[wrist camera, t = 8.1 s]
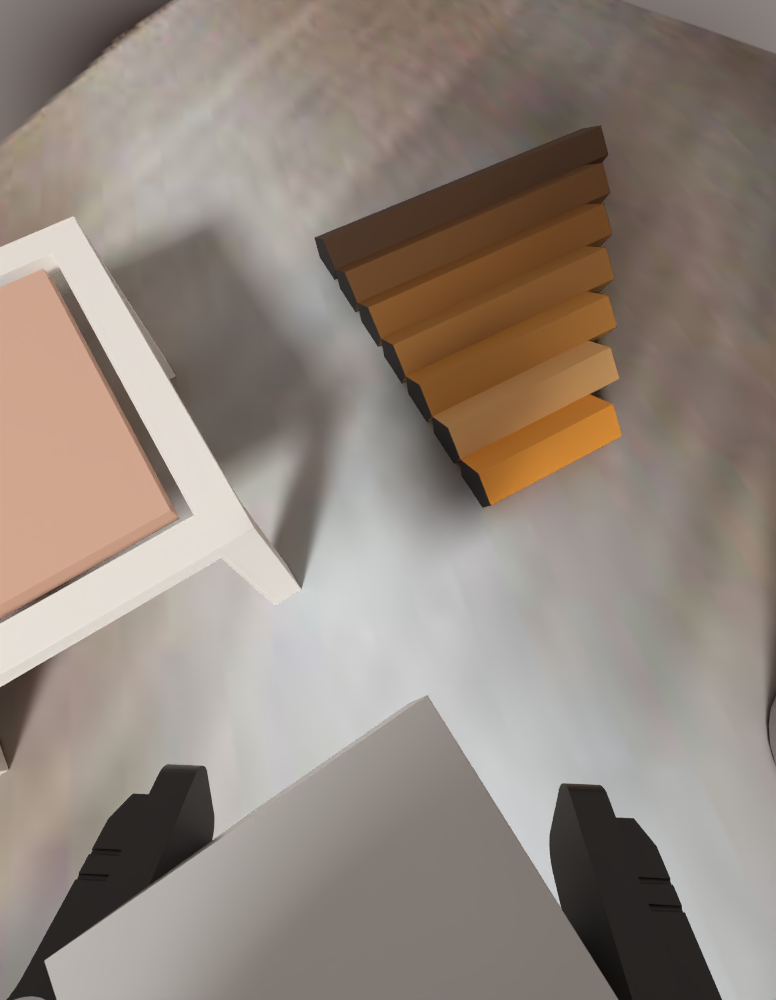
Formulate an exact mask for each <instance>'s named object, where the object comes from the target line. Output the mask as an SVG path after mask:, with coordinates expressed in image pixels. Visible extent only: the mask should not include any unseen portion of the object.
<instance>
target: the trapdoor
mask: <svg viewBox="0 0 776 1000" xmlns="http://www.w3.org/2000/svg"><path fill="white" fill-rule="evenodd" d="M178 519H179V516H178V515H177V513H176V511H175V509H174V507H173V505H172V503H171V501H170V499H169V498H168V496H167V494H166V492H165V490H164V488H163V486H162V484H161V482H160V481H159V479H158V477H157V475H156V473H155V471H154V469H153V467H152V465H151V464H150V462H149V460H148V458H147V456H146V454H145V452H144V450H143V449H142V447H141V445H140V443H139V441H138V439H137V437H136V435H135V433H134V432H133V430H132V428H131V426H130V424H129V422H128V420H127V418H126V416H125V415H124V413H123V411H122V409H121V407H120V405H119V403H118V401H117V399H116V398H115V396H114V394H113V392H112V390H111V388H110V386H109V384H108V382H107V381H106V379H105V377H104V375H103V373H102V371H101V369H100V367H99V365H98V364H97V362H96V360H95V358H94V356H93V354H92V352H91V350H90V348H89V347H88V345H87V343H86V341H85V339H84V337H83V335H82V333H81V331H80V330H79V328H78V326H77V324H76V322H75V320H74V318H73V316H72V315H71V313H70V311H69V309H68V307H67V305H66V303H65V301H64V299H63V298H62V296H61V294H60V292H59V290H58V288H57V286H56V284H55V283H54V282H53V280H52V279H51V278H50V277H49V275H48V274H47V273H46V271H45V270H44V269H41V270H39V271H36V272H34V273H32V274H30V275H27V276H25V277H23V278H20V279H18V280H16V281H13V282H11V283H9V284H6V285H4V286H2V287H0V619H1V618H2V617H4V616H6V615H8V614H10V613H11V612H13V611H15V610H17V609H19V608H20V607H22V606H24V605H26V604H27V603H29V602H31V601H33V600H35V599H36V598H38V597H40V596H42V595H44V594H45V593H47V592H49V591H51V590H52V589H54V588H56V587H58V586H60V585H61V584H63V583H65V582H67V581H69V580H70V579H72V578H74V577H76V576H78V575H79V574H81V573H83V572H85V571H86V570H88V569H90V568H92V567H94V566H95V565H97V564H99V563H101V562H103V561H104V560H106V559H108V558H110V557H111V556H113V555H115V554H117V553H119V552H120V551H122V550H124V549H126V548H128V547H129V546H131V545H133V544H135V543H137V542H138V541H140V540H142V539H144V538H145V537H147V536H149V535H151V534H153V533H154V532H156V531H158V530H160V529H162V528H163V527H165V526H167V525H169V524H170V523H172V522H174V521H176V520H178Z"/></svg>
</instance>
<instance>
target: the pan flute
mask: <svg viewBox="0 0 776 1000" xmlns="http://www.w3.org/2000/svg"><path fill="white" fill-rule="evenodd" d="M607 155H608V151H607V148H606V144H605V140H604V136H603V132H602V128H601V126H595V127H589V128H584V129H580V130H578V131H576V132H573V133H571V134H568V135H566V136H563V137H561V138H558V139H556V140H553V141H551V142H548V143H546V144H544V145H541V146H539V147H536V148H534V149H531V150H529V151H526V152H524V153H521V154H519V155H517V156H514V157H512V158H509V159H507V160H504V161H502V162H499V163H497V164H494V165H492V166H490V167H487V168H485V169H482V170H480V171H477V172H475V173H472V174H470V175H467V176H465V177H463V178H460V179H458V180H455V181H453V182H450V183H448V184H445V185H443V186H440V187H438V188H435V189H433V190H431V191H428V192H426V193H423V194H421V195H418V196H416V197H413V198H411V199H408V200H406V201H404V202H401V203H399V204H396V205H394V206H391V207H389V208H386V209H384V210H381V211H379V212H377V213H374V214H372V215H369V216H367V217H364V218H362V219H359V220H357V221H354V222H352V223H350V224H347V225H345V226H342V227H340V228H337V229H335V230H332V231H330V232H327V233H325V234H322V235H320V236H318V237H315V241H316V245H317V248H318V252H319V256H320V258H321V260H322V261H323V263H324V264H325V266H326V267H327V269H328V270H329V272H330V273H331V275H332V277H333V278H334V280H335V279H338V282H339V286H340V289H341V290H342V292H343V293H344V295H345V297H346V298H347V300H348V301H349V303H350V304H351V306H352V307H353V309H354V310H355V312H358V311H359V312H360V316H361V320H362V323H363V324H364V326H365V327H366V329H367V330H368V332H369V333H370V335H371V337H372V338H373V340H374V341H375V343H376V344H377V346H378V347H379V346H381V345H382V346H383V351H384V356H385V358H386V360H387V361H388V363H389V364H390V366H391V367H392V369H393V370H394V372H395V374H396V375H397V377H398V378H399V380H400V381H401V383H404V382H406V381H407V387H408V393H409V395H410V397H411V398H412V400H413V401H414V403H415V404H416V406H417V407H418V409H419V410H420V412H421V414H422V415H423V417H424V418H425V420H426V421H427V422H429V421H431V420H433V426H434V434H435V435H436V437H437V438H438V440H439V441H440V443H441V444H442V446H443V447H444V449H445V451H446V452H447V454H448V455H449V457H450V458H451V460H452V461H453V463H456V462H458V461H460V460H461V472H462V477H463V478H464V480H465V481H466V483H467V484H468V486H469V487H470V489H471V491H472V492H473V494H474V495H475V497H476V498H477V500H478V501H479V503H480V504H481V506H482V507H487V506H491V505H493V504H495V503H497V502H498V501H500V500H502V499H504V498H506V497H508V496H510V495H512V494H513V493H515V492H517V491H519V490H521V489H523V488H525V487H527V486H529V485H530V484H532V483H534V482H536V481H538V480H540V479H542V478H544V477H545V476H547V475H549V474H551V473H553V472H555V471H557V470H559V469H561V468H562V467H564V466H566V465H568V464H570V463H572V462H574V461H576V460H577V459H579V458H581V457H583V456H585V455H587V454H589V453H591V452H593V451H594V450H596V449H598V448H600V447H602V446H604V445H606V444H608V443H609V442H611V441H613V440H615V439H617V438H619V437H621V436H622V433H621V430H620V426H619V423H618V420H617V416H616V413H615V409H614V406H613V404H612V403H609V402H607V401H604V400H602V399H600V398H597V397H595V396H593V395H590V394H592V393H593V392H595V391H597V390H599V389H601V388H603V387H605V386H607V385H609V384H611V383H613V382H614V381H616V380H618V379H619V375H618V372H617V368H616V365H615V361H614V358H613V354H612V351H611V347H608V346H604V345H601V344H598V343H594V342H592V341H594V340H596V339H598V338H600V337H602V336H604V335H606V334H607V333H608V332H610V331H611V330H613V329H614V328H615V327H617V325H616V322H615V318H614V314H613V311H612V307H611V304H610V300H609V296H608V295H603V294H598V293H595V292H597V291H599V290H601V289H603V288H604V287H605V286H606V285H607V284H609V283H610V282H611V281H612V280H613V279H614V275H613V271H612V268H611V264H610V260H609V256H608V253H607V249H606V248H602V247H599V246H601V245H602V244H603V243H604V242H605V241H606V240H607V239H608V238H609V237H610V236H611V235H612V231H611V227H610V224H609V220H608V216H607V212H606V209H605V205H604V204H601V203H602V202H603V201H604V199H605V198H606V197H607V196H608V195H609V193H610V190H609V186H608V183H607V179H606V175H605V171H604V167H603V163H602V162H603V161H604V159H605V158H606V157H607Z"/></svg>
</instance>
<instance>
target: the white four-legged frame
mask: <svg viewBox="0 0 776 1000" xmlns="http://www.w3.org/2000/svg"><path fill="white" fill-rule="evenodd" d="M41 269H44V270H45V271H46V273H47V274H48V275H51V274H53V273H55V272H57V271H60V270H61V271H62V273H63V275H64V277H65V278H66V280H67V282H68V284H69V286H70V288H71V290H72V291H73V293H74V295H75V297H76V299H77V301H78V302H79V304H80V306H81V308H82V310H83V312H84V314H85V315H86V317H87V319H88V321H89V323H90V325H91V326H92V328H93V330H94V332H95V334H96V336H97V338H98V339H99V341H100V343H101V345H102V347H103V349H104V350H105V352H106V354H107V356H108V358H109V360H110V362H111V363H112V365H113V367H114V369H115V371H116V373H117V375H118V376H119V378H120V380H121V382H122V384H123V386H124V387H125V389H126V391H127V393H128V395H129V397H130V399H131V400H132V402H133V404H134V406H135V408H136V410H137V411H138V413H139V415H140V417H141V419H142V421H143V423H144V424H145V426H146V428H147V430H148V432H149V434H150V435H151V437H152V439H153V441H154V443H155V445H156V447H157V448H158V450H159V452H160V454H161V456H162V458H163V459H164V461H165V463H166V465H167V467H168V469H169V471H170V472H171V474H172V476H173V478H174V480H175V482H176V484H177V485H178V487H179V489H180V491H181V493H182V495H183V496H184V498H185V500H186V502H187V504H188V506H189V508H190V509H191V511H192V513H193V516H191V517H189V518H188V519H186V520H184V521H182V522H181V523H179V524H177V525H175V526H173V527H172V528H170V529H168V530H166V531H164V532H163V533H161V534H159V535H157V536H156V537H154V538H152V539H150V540H148V541H147V542H145V543H143V544H141V545H140V546H138V547H136V548H134V549H132V550H131V551H129V552H127V553H125V554H124V555H122V556H120V557H118V558H116V559H115V560H113V561H111V562H109V563H107V564H106V565H104V566H102V567H100V568H99V569H97V570H95V571H93V572H91V573H90V574H88V575H86V576H84V577H83V578H81V579H79V580H77V581H75V582H74V583H72V584H70V585H68V586H66V587H65V588H63V589H61V590H59V591H58V592H56V593H54V594H52V595H50V596H49V597H47V598H45V599H43V600H42V601H40V602H38V603H36V604H34V605H33V606H31V607H29V608H27V609H25V610H24V611H22V612H20V613H18V614H17V615H15V616H13V617H11V618H9V619H8V620H6V621H4V622H2V623H1V624H0V687H1V686H3V685H5V684H6V683H8V682H10V681H12V680H13V679H15V678H17V677H18V676H20V675H22V674H24V673H25V672H27V671H29V670H30V669H32V668H34V667H36V666H37V665H39V664H41V663H42V662H44V661H46V660H47V659H49V658H51V657H53V656H54V655H56V654H58V653H59V652H61V651H63V650H65V649H66V648H68V647H70V646H71V645H73V644H75V643H77V642H78V641H80V640H82V639H83V638H85V637H87V636H89V635H90V634H92V633H94V632H95V631H97V630H99V629H101V628H102V627H104V626H106V625H107V624H109V623H111V622H113V621H114V620H116V619H118V618H119V617H121V616H123V615H125V614H126V613H128V612H130V611H131V610H133V609H135V608H136V607H138V606H140V605H142V604H143V603H145V602H147V601H148V600H150V599H152V598H154V597H155V596H157V595H159V594H160V593H162V592H164V591H166V590H167V589H169V588H171V587H172V586H174V585H176V584H178V583H179V582H181V581H183V580H184V579H186V578H188V577H190V576H191V575H193V574H195V573H196V572H198V571H200V570H202V569H203V568H205V567H207V566H208V565H210V564H212V563H214V562H215V561H217V560H219V559H220V558H221V559H222V560H224V561H225V562H226V563H227V564H228V565H229V566H230V567H232V568H233V569H234V570H235V571H236V572H237V573H238V574H240V575H241V576H242V577H243V578H244V579H245V580H246V581H248V582H249V583H250V584H251V585H252V586H253V587H254V588H256V589H257V590H258V591H259V592H260V593H261V594H262V595H264V596H265V597H266V598H267V599H268V600H269V601H270V602H272V603H273V604H274V605H275V606H276V605H277V604H279V603H280V602H282V601H284V600H285V599H287V598H289V597H290V596H292V595H293V594H295V593H297V592H298V591H300V590H301V588H300V586H299V585H298V583H297V581H296V580H295V578H294V576H293V574H292V573H291V571H290V569H289V568H288V566H287V564H286V563H285V562H284V560H283V559H282V558H281V556H280V555H279V554H278V552H277V551H276V549H275V548H274V547H273V545H272V544H271V543H270V541H269V540H268V539H267V537H266V536H265V534H264V533H263V532H262V530H261V529H260V528H259V526H258V525H257V524H256V522H255V521H254V520H253V518H252V517H251V515H250V514H249V513H248V511H247V510H246V509H245V507H244V506H243V505H242V503H241V502H240V500H239V498H238V497H237V495H236V493H235V492H234V490H233V488H232V486H231V485H230V483H229V481H228V480H227V478H226V476H225V474H224V473H223V471H222V469H221V467H220V466H219V464H218V462H217V461H216V459H215V457H214V455H213V454H212V452H211V450H210V449H209V447H208V445H207V443H206V442H205V440H204V438H203V437H202V435H201V433H200V431H199V430H198V428H197V426H196V424H195V423H194V421H193V419H192V418H191V416H190V414H189V412H188V411H187V409H186V407H185V406H184V404H183V402H182V400H181V399H180V397H179V395H178V393H177V392H176V390H175V388H174V387H173V385H172V383H171V381H170V379H172V378H174V377H176V375H175V374H174V372H173V370H172V369H171V367H170V365H169V363H168V362H167V360H166V358H165V357H164V355H163V354H162V352H161V351H160V349H159V348H158V346H157V344H156V343H155V341H154V340H153V338H152V337H151V335H150V334H149V332H148V331H147V329H146V327H145V326H144V324H143V323H142V321H141V320H140V318H139V317H138V315H137V314H136V312H135V310H134V309H133V307H132V306H131V304H130V303H129V301H128V300H127V298H126V297H125V295H124V293H123V292H122V290H121V289H120V287H119V286H118V284H117V283H116V281H115V280H114V278H113V277H112V275H111V273H110V272H109V270H108V269H107V267H106V266H105V264H104V263H103V261H102V260H101V258H100V256H99V255H98V253H97V252H96V250H95V249H94V247H93V246H92V244H91V243H90V241H89V239H88V238H87V236H86V235H85V233H84V232H83V230H82V229H81V227H80V226H79V224H78V222H77V221H76V219H75V218H74V216H73V217H71V218H68V219H66V220H63V221H61V222H59V223H56V224H54V225H52V226H49V227H47V228H45V229H42V230H40V231H37V232H35V233H33V234H30V235H28V236H26V237H23V238H21V239H19V240H16V241H14V242H12V243H9V244H7V245H4V246H2V247H0V287H2V286H4V285H6V284H9V283H11V282H13V281H16V280H18V279H20V278H23V277H25V276H27V275H30V274H32V273H34V272H36V271H39V270H41ZM8 770H9V769H8V766H7V763H6V760H5V757H4V754H3V751H2V749H1V746H0V775H1V774H3V773H5V772H6V771H8Z"/></svg>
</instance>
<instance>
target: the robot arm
mask: <svg viewBox="0 0 776 1000" xmlns="http://www.w3.org/2000/svg"><path fill="white" fill-rule="evenodd" d="M769 735H770V746H771V749H772V753H773V756H774V760H775V764H776V696H775V699H774V701H773V704H772V707H771V712H770V720H769ZM213 832H214V811H213V805H212V799H211V793H210V787H209V781H208V775H207V770H206V768H205V766H194V765H171V764H168V765H165V766H164V767H163V768H162V770H161V771H160V773H159V775H158V777H157V779H156V781H155V783H154V785H153V787H152V789H151V791H150V793H149V794H132V795H131V796H130V797H129V798H128V799H127V800H126V801H125V802H124V803H123V804H122V805H121V806H120V807H119V808H118V809H117V810H116V811H115V812H114V813H113V815H112V816H111V817H110V818H109V819H108V820H107V822H106V824H105V826H104V828H103V830H102V831H101V833H100V835H99V837H98V839H97V841H96V843H95V844H94V846H93V848H92V853H91V854H89V855H88V857H87V859H86V861H85V863H84V865H83V866H82V868H81V870H80V872H79V876H78V879H77V880H75V881H74V883H73V885H72V887H71V888H70V890H69V892H68V894H67V896H66V898H65V900H64V901H63V903H62V905H61V907H60V909H59V911H58V912H57V914H56V916H55V918H54V920H53V922H52V923H51V925H50V927H49V929H48V931H47V933H46V934H45V936H44V938H43V940H42V942H41V944H40V945H39V947H38V949H37V951H36V953H35V955H34V956H33V958H32V960H31V962H30V964H29V966H28V968H27V969H26V971H25V973H24V975H23V977H22V978H21V980H20V982H19V983H18V985H17V987H16V988H15V989H14V991H13V992H12V994H11V995H10V996H9V998H8V999H7V1000H57V999H56V996H55V993H54V990H53V987H52V983H51V980H50V977H49V974H48V971H47V968H46V965H45V962H44V961H45V960H46V959H47V958H49V957H50V956H52V955H53V954H54V953H56V952H57V951H59V950H60V949H61V948H63V947H64V946H66V945H67V944H68V943H70V942H71V941H73V940H74V939H75V938H77V937H78V936H79V935H81V934H82V933H84V932H85V931H86V930H88V929H89V928H91V927H92V926H93V925H95V924H96V923H98V922H99V921H100V920H102V919H103V918H105V917H106V916H107V915H109V914H110V913H112V912H113V911H114V910H116V909H117V908H119V907H120V906H121V905H123V904H124V903H126V902H127V901H128V900H130V899H131V898H133V897H134V896H135V895H137V894H138V893H140V892H141V891H142V890H144V889H145V888H147V887H148V886H149V885H151V884H152V883H154V882H155V881H156V880H158V879H159V878H161V877H162V876H163V875H165V874H166V873H168V872H169V871H170V870H172V869H173V868H175V867H176V866H177V865H179V864H180V863H182V862H183V861H184V860H186V859H187V858H189V857H190V856H191V855H193V854H194V853H196V852H197V851H198V850H200V849H201V848H203V847H204V846H205V845H207V844H208V843H210V842H211V841H212V838H213ZM550 858H551V865H552V870H553V875H554V879H555V883H556V887H557V892H558V896H559V900H560V904H561V908H562V911H563V912H564V914H565V915H566V917H567V919H568V920H569V922H570V923H571V925H572V927H573V928H574V930H575V931H576V933H577V935H578V936H579V938H580V939H581V941H582V943H583V944H584V946H585V947H586V949H587V951H588V952H589V954H590V955H591V957H592V959H593V960H594V962H595V963H596V965H597V966H598V968H599V970H600V971H601V973H602V974H603V976H604V978H605V979H606V981H607V982H608V984H609V986H610V987H611V989H612V990H613V992H614V994H615V995H616V997H617V998H618V1000H722V999H721V996H720V994H719V992H718V989H717V987H716V985H715V982H714V980H713V978H712V975H711V973H710V971H709V968H708V966H707V964H706V961H705V959H704V957H703V954H702V952H701V949H700V947H699V945H698V942H697V940H696V938H695V935H694V933H693V931H692V928H691V926H690V924H689V921H688V919H687V917H686V914H685V913H683V911H682V905H681V903H680V900H679V898H678V896H677V893H676V891H675V888H674V886H673V885H671V882H670V877H669V874H668V872H667V870H666V867H665V865H664V863H663V860H662V858H661V856H660V853H659V851H658V849H657V846H656V845H655V844H654V843H653V841H652V840H651V839H650V838H649V837H648V835H647V834H646V833H645V832H644V830H643V829H642V828H641V827H640V826H639V824H638V823H637V822H636V821H635V819H634V818H616V817H615V814H614V811H613V809H612V806H611V803H610V801H609V798H608V795H607V793H606V791H605V789H604V788H603V787H602V786H601V785H587V784H564V783H563V784H561V786H560V788H559V793H558V798H557V802H556V807H555V812H554V817H553V821H552V826H551V831H550Z"/></svg>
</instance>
